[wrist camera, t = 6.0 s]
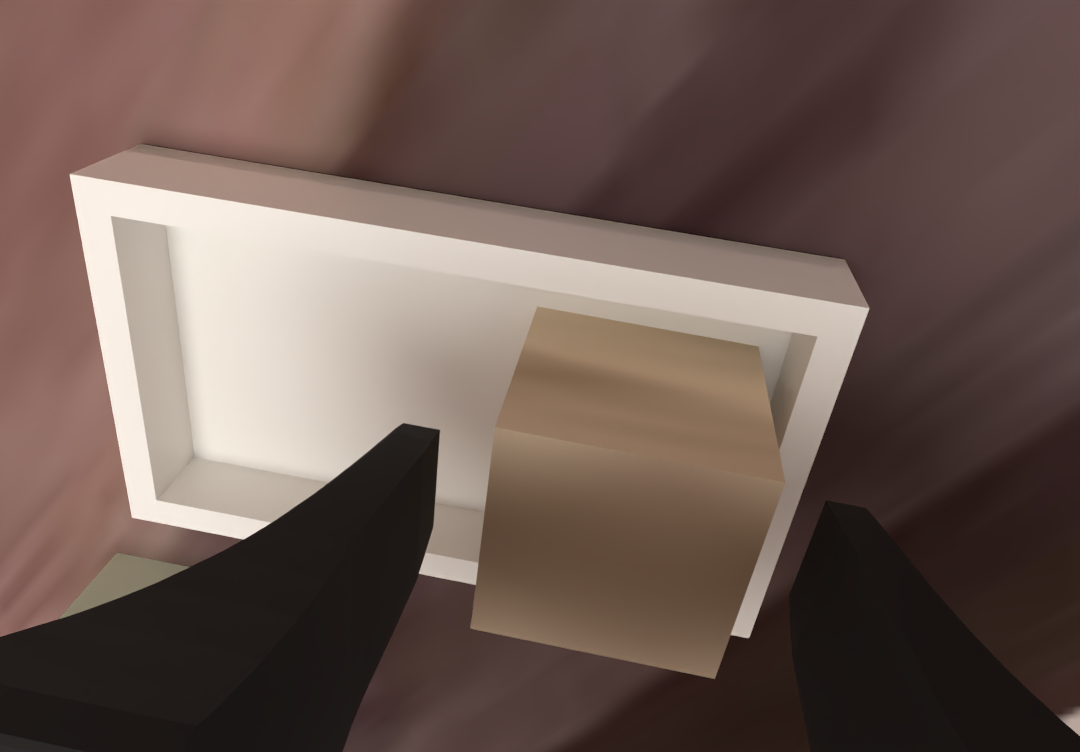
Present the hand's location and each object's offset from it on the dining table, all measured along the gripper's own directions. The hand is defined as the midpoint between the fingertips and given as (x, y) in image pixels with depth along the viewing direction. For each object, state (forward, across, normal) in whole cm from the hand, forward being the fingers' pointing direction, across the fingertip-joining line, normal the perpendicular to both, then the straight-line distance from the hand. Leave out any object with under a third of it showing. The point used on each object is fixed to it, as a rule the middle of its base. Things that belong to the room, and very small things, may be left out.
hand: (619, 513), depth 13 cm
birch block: (+3, 0, 0) cm, 3 cm away
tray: (+3, +3, 0) cm, 5 cm away
